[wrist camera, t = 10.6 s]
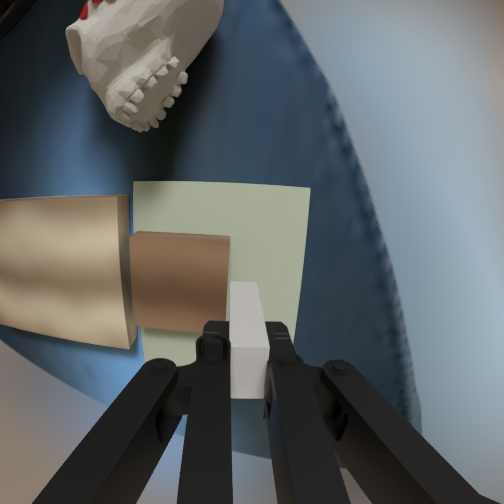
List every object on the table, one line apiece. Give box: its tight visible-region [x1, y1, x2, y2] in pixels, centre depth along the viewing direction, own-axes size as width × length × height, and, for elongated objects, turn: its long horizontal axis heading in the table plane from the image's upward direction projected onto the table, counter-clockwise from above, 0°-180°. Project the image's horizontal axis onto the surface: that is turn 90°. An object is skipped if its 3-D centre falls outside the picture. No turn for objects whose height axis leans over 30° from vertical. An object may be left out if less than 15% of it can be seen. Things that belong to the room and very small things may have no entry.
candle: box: [65, 0, 224, 133], centre depth 14 cm, size 9×11×15 cm
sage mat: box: [133, 181, 310, 366], centre depth 23 cm, size 18×13×1 cm
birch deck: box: [0, 194, 138, 349], centre depth 21 cm, size 12×16×2 cm
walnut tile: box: [129, 231, 230, 332], centre depth 21 cm, size 7×7×2 cm
